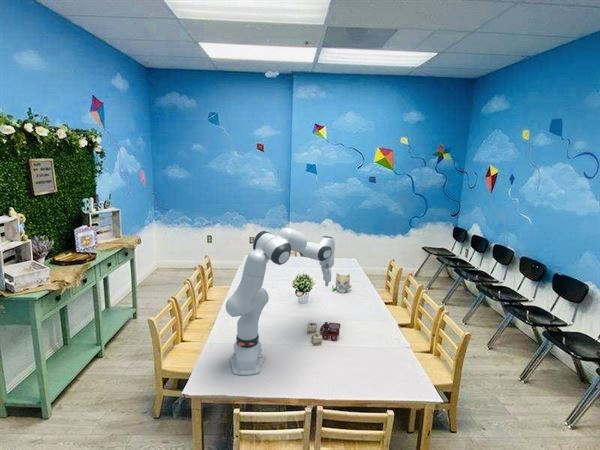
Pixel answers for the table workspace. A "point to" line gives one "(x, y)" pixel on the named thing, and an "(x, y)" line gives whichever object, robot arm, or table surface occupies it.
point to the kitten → (342, 283)
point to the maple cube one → (316, 339)
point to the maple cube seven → (312, 328)
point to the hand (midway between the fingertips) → (325, 282)
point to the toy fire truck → (330, 331)
